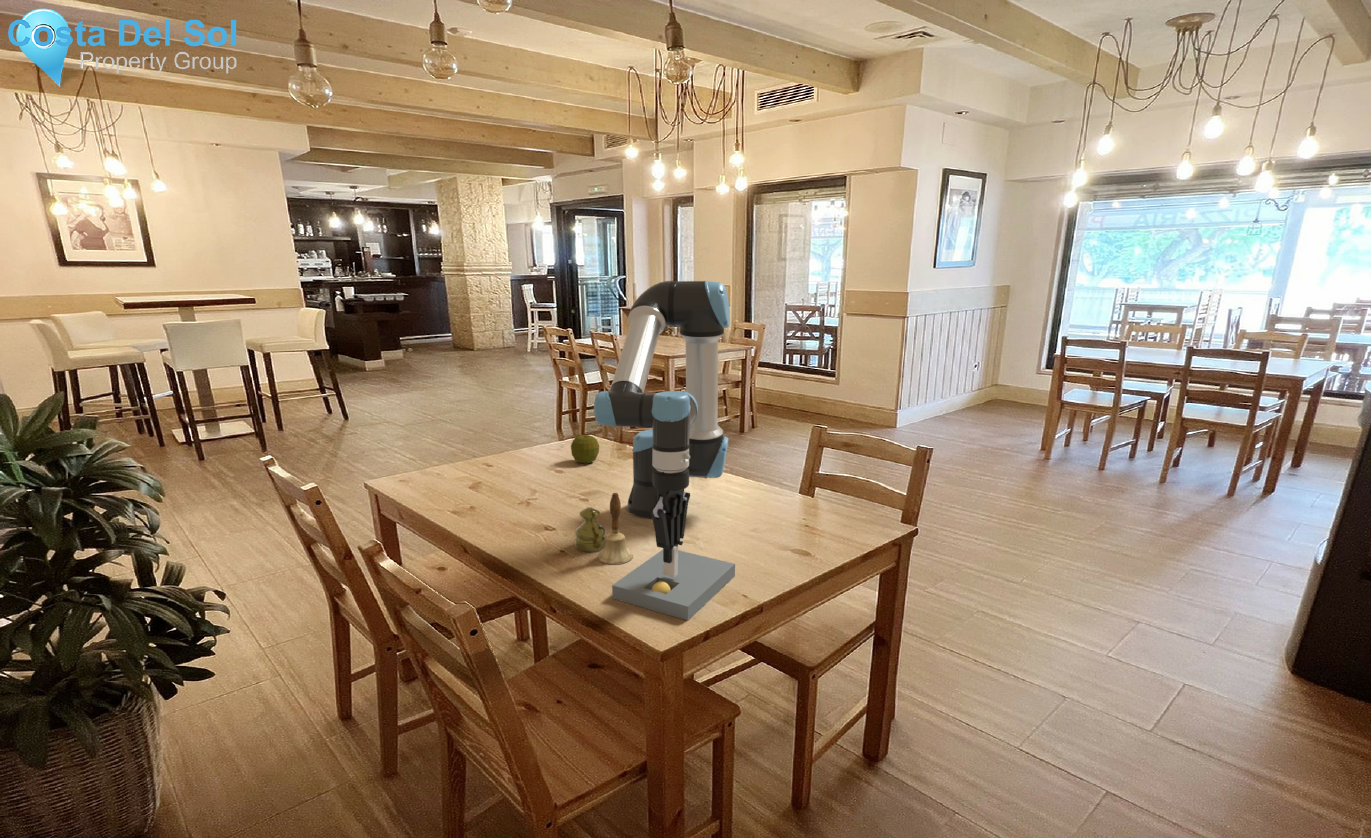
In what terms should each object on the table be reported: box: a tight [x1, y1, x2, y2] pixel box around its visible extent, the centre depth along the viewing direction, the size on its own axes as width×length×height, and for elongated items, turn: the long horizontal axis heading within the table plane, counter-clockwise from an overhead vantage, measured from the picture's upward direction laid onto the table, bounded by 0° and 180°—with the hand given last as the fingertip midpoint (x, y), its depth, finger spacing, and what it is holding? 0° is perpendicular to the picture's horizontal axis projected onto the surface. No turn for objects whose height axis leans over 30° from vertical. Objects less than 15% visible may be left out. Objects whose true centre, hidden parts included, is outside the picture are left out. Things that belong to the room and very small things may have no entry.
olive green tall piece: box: [574, 506, 606, 553], centre depth 160 cm, size 7×7×10 cm
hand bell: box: [598, 492, 634, 565], centre depth 153 cm, size 8×8×16 cm
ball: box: [652, 581, 671, 594], centre depth 134 cm, size 4×4×4 cm
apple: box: [570, 432, 600, 464], centre depth 231 cm, size 10×10×11 cm
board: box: [611, 549, 736, 621], centre depth 140 cm, size 18×22×3 cm
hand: (670, 574), depth 137 cm, fingers closed
